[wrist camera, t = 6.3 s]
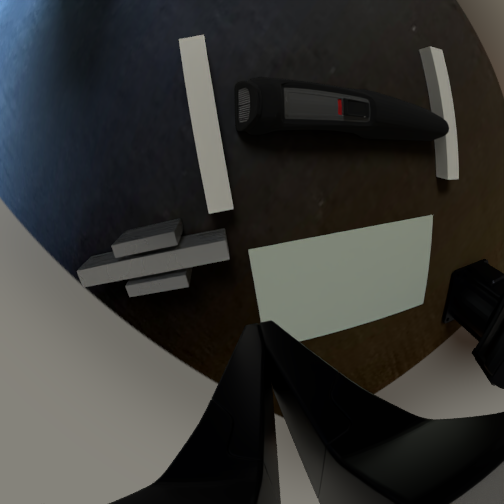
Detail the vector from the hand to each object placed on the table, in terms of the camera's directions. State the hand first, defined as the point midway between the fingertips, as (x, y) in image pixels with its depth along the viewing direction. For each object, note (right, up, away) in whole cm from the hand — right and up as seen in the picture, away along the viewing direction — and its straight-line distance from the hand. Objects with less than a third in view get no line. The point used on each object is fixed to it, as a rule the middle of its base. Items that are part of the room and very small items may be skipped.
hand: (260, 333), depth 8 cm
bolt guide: (-7, +3, +10) cm, 12 cm away
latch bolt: (-7, +3, +10) cm, 12 cm away
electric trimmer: (+6, +12, +8) cm, 16 cm away
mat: (+8, 0, +13) cm, 15 cm away
